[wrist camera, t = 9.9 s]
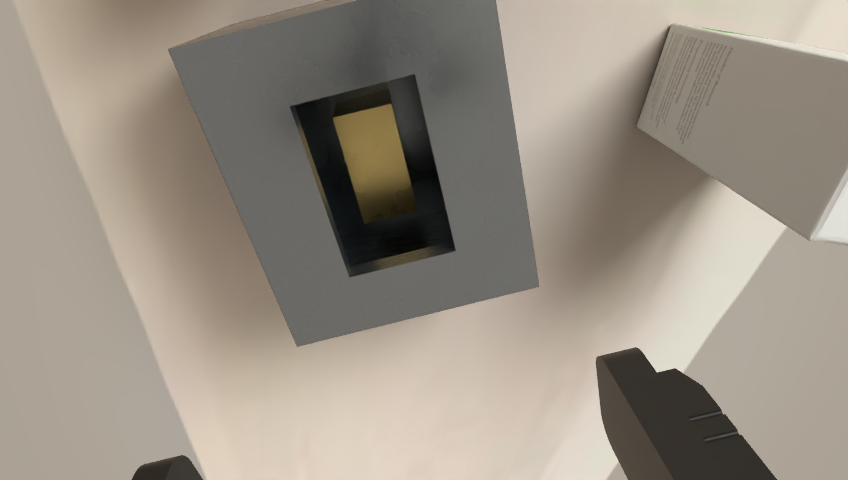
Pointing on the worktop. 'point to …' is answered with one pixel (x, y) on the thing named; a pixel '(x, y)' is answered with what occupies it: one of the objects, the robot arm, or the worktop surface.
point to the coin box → (327, 170)
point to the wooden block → (374, 156)
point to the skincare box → (758, 122)
